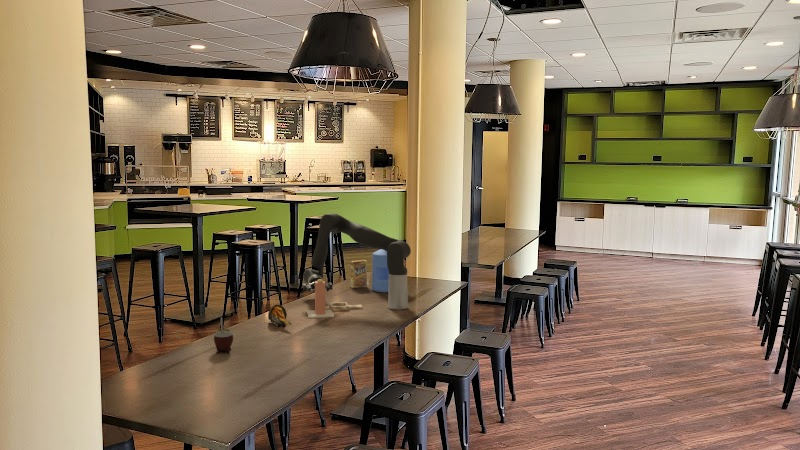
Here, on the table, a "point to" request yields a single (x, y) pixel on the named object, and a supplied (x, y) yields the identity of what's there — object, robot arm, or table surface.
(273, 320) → the fried shrimp in bowl
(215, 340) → the mate gourd
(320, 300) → the salmon block with knob
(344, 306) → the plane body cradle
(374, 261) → the water jug
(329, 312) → the felt pad
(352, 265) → the candy box
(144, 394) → the table surface
